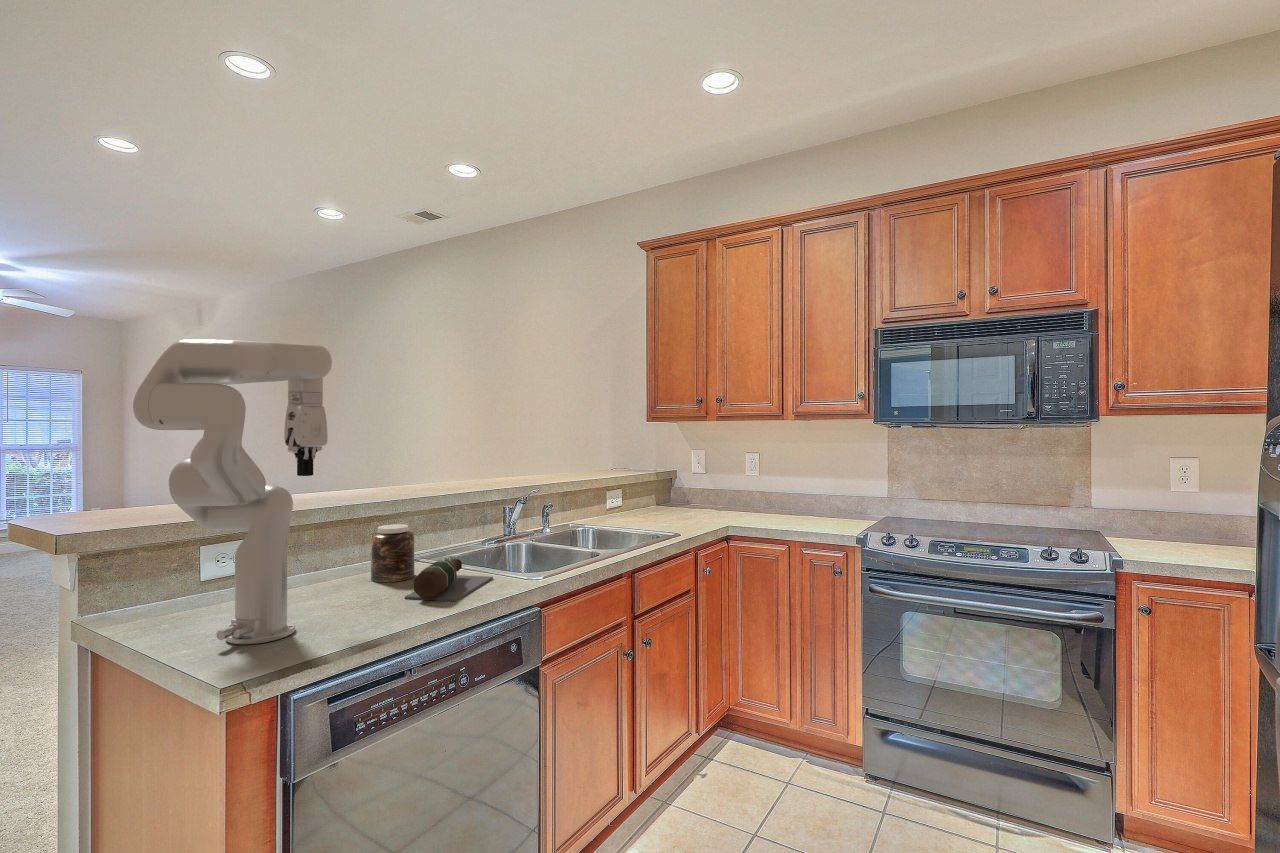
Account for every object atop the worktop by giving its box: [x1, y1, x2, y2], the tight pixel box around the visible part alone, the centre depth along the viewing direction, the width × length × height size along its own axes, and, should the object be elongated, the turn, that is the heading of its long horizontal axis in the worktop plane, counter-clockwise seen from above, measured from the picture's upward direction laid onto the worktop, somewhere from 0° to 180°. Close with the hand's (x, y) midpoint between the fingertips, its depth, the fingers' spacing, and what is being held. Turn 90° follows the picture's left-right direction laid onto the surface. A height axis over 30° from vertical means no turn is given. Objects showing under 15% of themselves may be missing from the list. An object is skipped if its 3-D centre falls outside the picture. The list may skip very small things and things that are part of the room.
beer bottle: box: [413, 558, 463, 599], centre depth 171 cm, size 8×8×24 cm
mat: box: [404, 574, 494, 602], centre depth 172 cm, size 24×14×1 cm, turn 171°
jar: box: [370, 523, 415, 584], centre depth 183 cm, size 12×12×15 cm
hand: (305, 475), depth 154 cm, fingers closed
